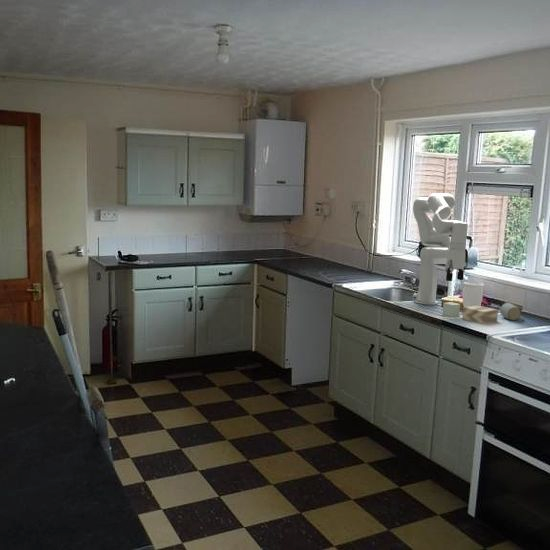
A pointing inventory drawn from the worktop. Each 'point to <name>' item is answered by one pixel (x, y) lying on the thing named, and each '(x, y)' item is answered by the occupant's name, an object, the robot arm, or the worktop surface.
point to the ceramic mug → (510, 312)
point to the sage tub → (451, 309)
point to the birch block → (480, 314)
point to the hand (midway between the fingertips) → (454, 280)
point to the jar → (472, 293)
